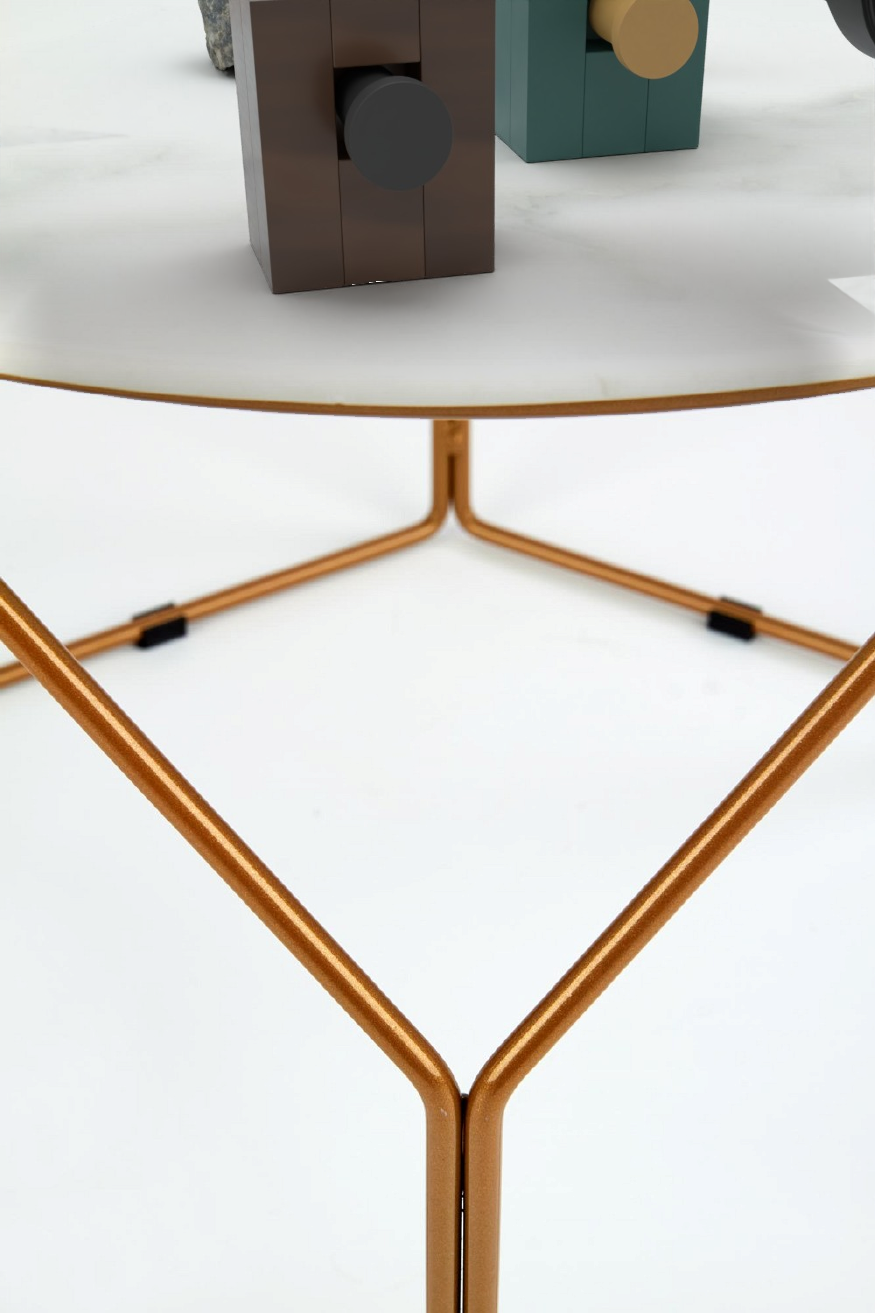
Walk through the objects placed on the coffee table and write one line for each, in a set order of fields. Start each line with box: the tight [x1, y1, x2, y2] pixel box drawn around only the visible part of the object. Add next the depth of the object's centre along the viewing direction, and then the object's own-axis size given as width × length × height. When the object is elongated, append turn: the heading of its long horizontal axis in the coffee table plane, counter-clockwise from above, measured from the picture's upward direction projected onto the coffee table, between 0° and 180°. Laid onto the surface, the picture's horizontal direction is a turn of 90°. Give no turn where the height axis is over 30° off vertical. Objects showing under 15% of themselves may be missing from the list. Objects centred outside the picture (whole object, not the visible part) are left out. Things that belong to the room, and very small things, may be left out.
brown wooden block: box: [229, 0, 496, 294], centre depth 72 cm, size 8×11×13 cm
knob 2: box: [588, 0, 698, 79], centre depth 84 cm, size 7×5×5 cm, turn 14°
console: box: [495, 0, 711, 163], centre depth 90 cm, size 8×11×13 cm
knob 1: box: [335, 65, 453, 191], centre depth 67 cm, size 7×5×5 cm, turn 14°
